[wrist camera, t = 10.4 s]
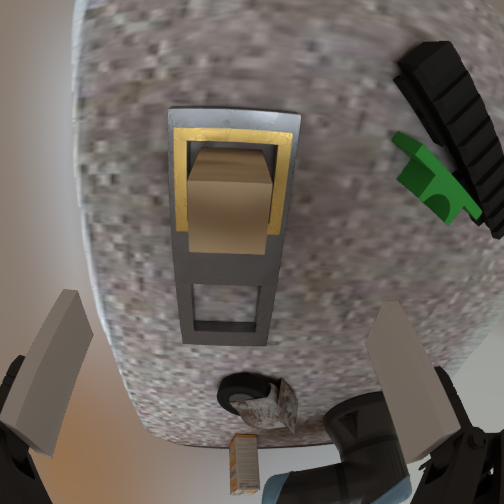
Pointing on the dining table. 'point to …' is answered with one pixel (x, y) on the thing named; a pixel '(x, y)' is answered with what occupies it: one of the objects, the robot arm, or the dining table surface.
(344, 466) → the robot arm
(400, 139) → the pipe clamp
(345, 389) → the dining table surface
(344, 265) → the dining table surface
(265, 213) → the oak peg
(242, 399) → the caster wheel
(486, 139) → the rail mount
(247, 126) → the rail plate
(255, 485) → the supplement box
